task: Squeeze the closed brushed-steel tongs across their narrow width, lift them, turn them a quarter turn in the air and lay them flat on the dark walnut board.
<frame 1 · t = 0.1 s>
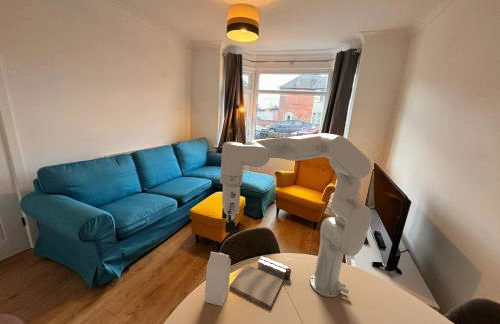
hand: (227, 224, 74), 31 cm above the table, tool pointing down, fingers open, 9 cm apart
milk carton: (216, 297, 81), on the table
steel tongs: (271, 271, 97), on the table
walnut board: (256, 285, 88), on the table
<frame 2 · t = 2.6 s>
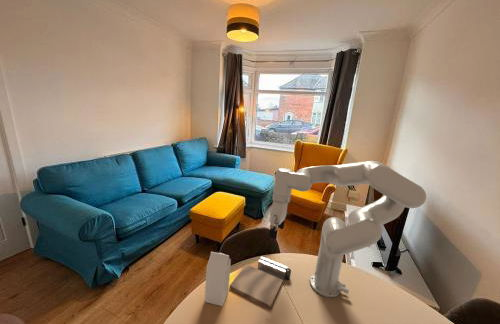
hand: (276, 232, 93), 20 cm above the table, tool pointing down, fingers open, 9 cm apart
nothing on the table moved.
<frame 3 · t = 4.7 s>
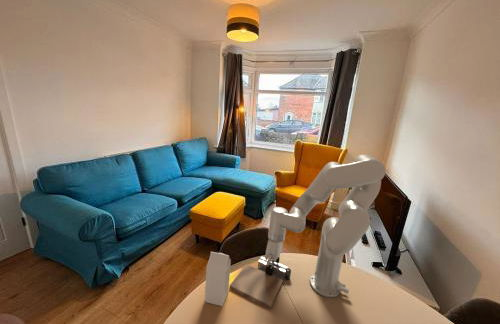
hand: (272, 268, 97), 2 cm above the table, tool pointing down, fingers open, 8 cm apart
nothing on the table moved.
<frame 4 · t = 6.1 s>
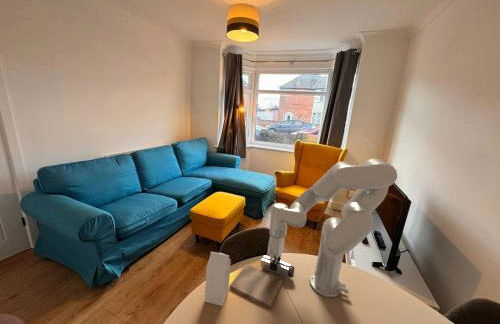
hand: (274, 266, 96), 3 cm above the table, tool pointing down, fingers closed on steel tongs, 4 cm apart
steel tongs: (275, 269, 97), point 1 cm above the table, touching gripper
everything else where it was.
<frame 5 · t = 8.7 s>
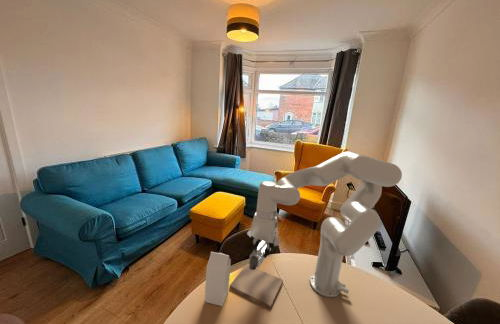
hand: (261, 253, 86), 15 cm above the table, tool pointing down, fingers closed on steel tongs, 4 cm apart
steel tongs: (260, 256, 86), point 14 cm above the table, touching gripper
everything else where it was.
when the fingers open (3 cm above the table, at t = 11.2 s): steel tongs stays where it is, resting on walnut board.
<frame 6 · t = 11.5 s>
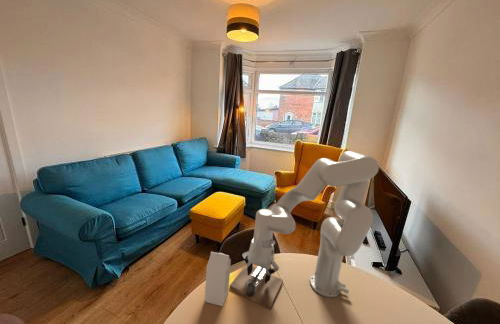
hand: (258, 277, 88), 4 cm above the table, tool pointing down, fingers open, 7 cm apart
steel tongs: (257, 282, 88), point 1 cm above the table, touching walnut board
everything else where it was.
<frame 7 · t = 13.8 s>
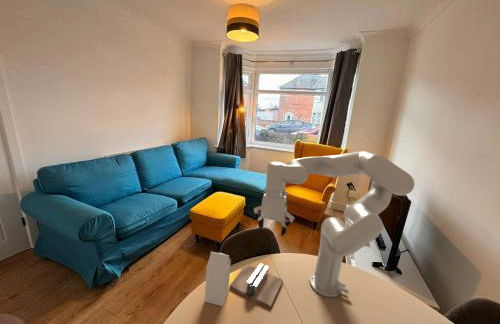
hand: (271, 231, 87), 24 cm above the table, tool pointing down, fingers open, 9 cm apart
nothing on the table moved.
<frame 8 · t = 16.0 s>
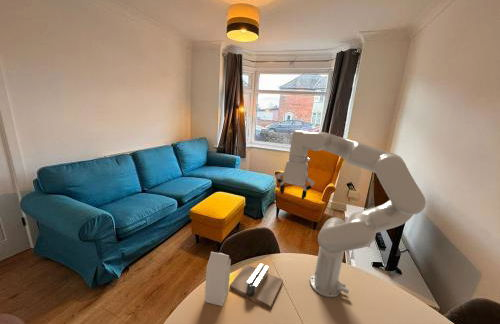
hand: (292, 195, 94), 36 cm above the table, tool pointing down, fingers open, 9 cm apart
nothing on the table moved.
at the end: steel tongs inside the target area on the walnut board (0.3 cm from its centre), point 1.5 cm above the walnut board's base; steel tongs tilted 0°; the gripper is holding nothing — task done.
